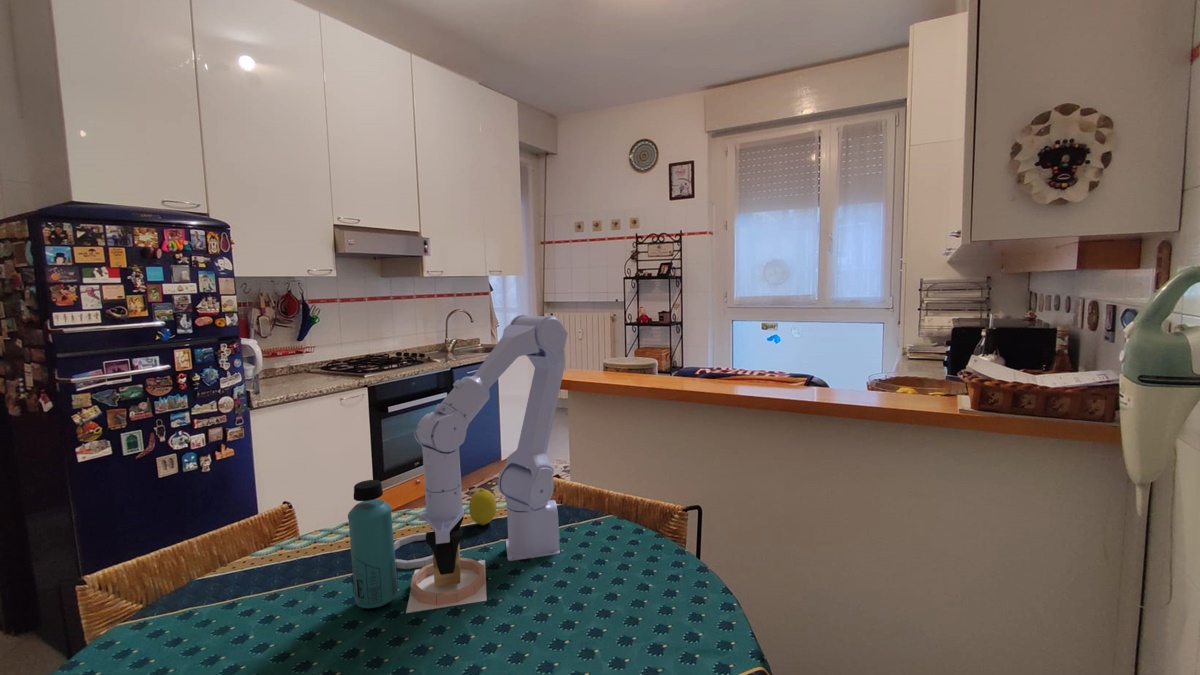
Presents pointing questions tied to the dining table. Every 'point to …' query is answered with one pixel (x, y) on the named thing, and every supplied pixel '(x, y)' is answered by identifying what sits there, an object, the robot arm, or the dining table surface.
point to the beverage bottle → (372, 547)
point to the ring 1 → (412, 563)
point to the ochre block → (448, 578)
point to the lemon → (482, 506)
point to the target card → (448, 590)
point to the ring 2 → (452, 595)
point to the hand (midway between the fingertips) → (447, 565)
